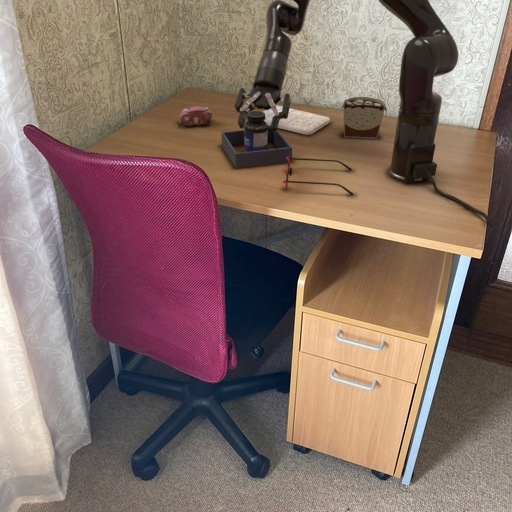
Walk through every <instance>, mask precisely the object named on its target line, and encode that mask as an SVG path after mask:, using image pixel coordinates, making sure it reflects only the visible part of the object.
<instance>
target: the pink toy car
mask: <svg viewBox="0 0 512 512" xmlns="http://www.w3.org/2000/svg"><path fill="white" fill-rule="evenodd" d="M212 118H213V112H212V110H211V109H210V108H209V107H208V106H204V107H202V106H198V105H196V106H194V105H193V106H191V107H189V108H185V107H184V108H183V109H182V110H181V111H180V113H179V115H178V122H179V124H181V125H182V124H183V123H186V124H187V126H189V127H190V126H195V123H196V122H195V119H196V121H197V124H198V125H201V126H203V125H204V124H205V123H206V122H210V121H212Z"/></svg>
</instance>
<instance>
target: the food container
mask: <svg viewBox="0 0 512 512" xmlns="http://www.w3.org/2000/svg"><path fill="white" fill-rule="evenodd" d="M342 110H343V137H344V138H350V139H351V138H354V139H372V140H373V139H375V140H376V139H378V138H379V134H380V129H381V125H382V122H383V117H384V114H385V112H387V106H386V103H385V102H384V101H383V100H381V99H379V98H376V97H375V98H374V97H370V96H353V97H348V98H347V99H344V101H343V103H342V105H341V111H342Z"/></svg>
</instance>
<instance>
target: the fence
mask: <svg viewBox="0 0 512 512" xmlns="http://www.w3.org/2000/svg"><path fill="white" fill-rule="evenodd" d="M269 142H271V143H272V142H273V143H274V145H275V146H276V147H277V148H270V149H267V150H260V151H251V152H244V151H243V152H237V151H236V150H235V148H234V146H244V129H241V130H230V131H222V132H221V147H222V149H223V150H224V152H225V154H226V155H227V157H228V158H229V160H230V162H231V164H232V165H233V166H234V168H235V169H243V168H245V169H246V168H252V167H253V168H254V167H261V166H262V167H263V166H270V165H277V164H286V163H287V164H288V161H289V160H287V159H286V158H287V157H289V155H290V153H291V158H293V147H292V145H291V144H290V143H289V142H288V141H287V140H286V138H285V137H284V136H283V135H282V134H281V133H280V132H279V131H278V129H277V130H276V131H274V133H272V132H271V131H270V126H268V137H267V143H269ZM292 161H293V159H290V163H292Z"/></svg>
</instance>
